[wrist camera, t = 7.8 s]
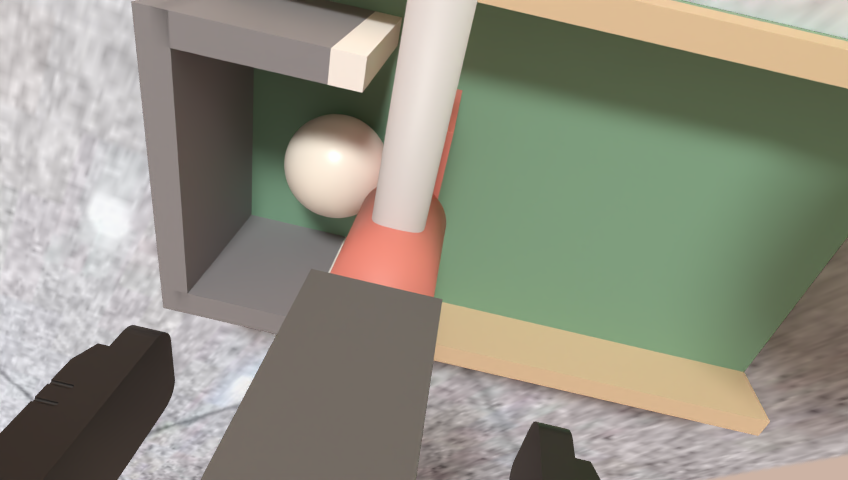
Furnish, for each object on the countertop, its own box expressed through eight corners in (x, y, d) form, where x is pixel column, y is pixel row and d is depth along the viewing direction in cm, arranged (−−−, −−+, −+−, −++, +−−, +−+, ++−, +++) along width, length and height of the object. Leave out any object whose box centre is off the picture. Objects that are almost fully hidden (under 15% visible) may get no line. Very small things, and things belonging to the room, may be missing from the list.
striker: (515, -54, 17) (570, 89, 4) (419, 324, 27) (333, 761, 13) (420, -76, 17) (126, -14, 4) (357, 310, 27) (206, 732, 13)
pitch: (953, 63, 19) (1160, 135, 13) (726, 371, 27) (788, 497, 22) (239, -104, 19) (119, -108, 13) (239, 257, 27) (168, 353, 21)
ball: (308, 89, 21) (404, 113, 21) (302, 177, 23) (389, 199, 23) (268, 123, 18) (383, 151, 18) (265, 222, 20) (367, 248, 20)
